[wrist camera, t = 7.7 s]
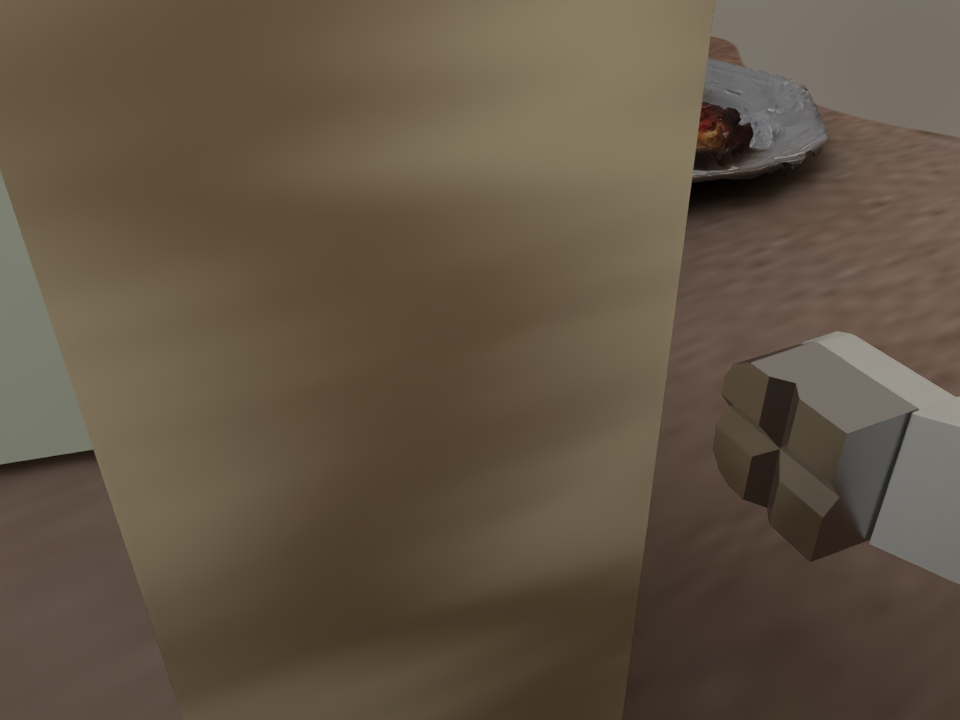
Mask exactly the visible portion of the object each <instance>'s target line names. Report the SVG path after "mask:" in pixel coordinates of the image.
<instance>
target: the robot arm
mask: <svg viewBox="0 0 960 720" xmlns="http://www.w3.org/2000/svg"><path fill="white" fill-rule="evenodd" d="M722 396H723V397H724V399H725V400H726V402H727V403H728V405H729V408H728V409H727V411H726V412H725V413H724V415H723V416H722V418H721V419H720V421H719V422H718V423H717V425H716V430H715V438H714V446H713V449H714V453H715V457H716V460H717V464H718V468H719V471H720V472H721V474H722V475H723V477H724V479H725V480H726V482H727V483H728V485H729V486H730V487H731V488H732V489H733V490H734V491H735V492H736V493H737V494H738V495H739V496H740V497H741V498H742V499H743V500H746V501H749V502H752V503H755V504H758V505H760V506H763V507H766V508H767V513H768V519H769V524H770V525H771V526H772V527H773V528H774V529H775V530H776V531H777V532H778V533H780V534H781V535H782V536H783V537H784V538H785V539H786V540H787V541H788V542H789V543H790V544H791V545H792V546H794V547H795V548H796V549H797V550H798V551H799V552H800V553H801V554H802V555H803V556H804V557H805V558H806V559H808V560H809V561H810V562H812V561H815V560H817V559H820V558H823V557H825V556H828V555H831V554H833V553H836V552H839V551H841V550H844V549H847V548H849V547H852V546H855V545H857V544H860V543H863V542H865V541H868V540H870V542H869V544H871V545H873V546H875V547H877V548H879V549H882V550H884V551H886V552H888V553H890V554H893V555H895V556H897V557H899V558H901V559H904V560H906V561H908V562H910V563H913V564H915V565H917V566H919V567H921V568H924V569H926V570H928V571H930V572H932V573H935V574H937V575H939V576H941V577H943V578H946V579H948V580H950V581H952V582H954V583H957V584H959V585H960V396H959V397H955V396H953V395H951V394H950V393H948V392H946V391H945V390H943V389H942V388H940V387H938V386H937V385H935V384H933V383H932V382H930V381H928V380H927V379H925V378H924V377H922V376H920V375H919V374H917V373H915V372H914V371H912V370H910V369H909V368H907V367H906V366H904V365H902V364H901V363H899V362H897V361H896V360H894V359H893V358H891V357H889V356H888V355H886V354H884V353H883V352H881V351H879V350H878V349H876V348H875V347H873V346H871V345H870V344H868V343H866V342H865V341H863V340H861V339H860V338H858V337H857V336H855V335H853V334H849V333H844V332H839V331H836V332H833V333H830V334H827V335H824V336H820V337H817V338H814V339H811V340H808V341H805V342H803V343H801V344H799V345H794V346H791V347H788V348H784V349H781V350H778V351H775V352H771V353H768V354H765V355H761V356H758V357H755V358H752V359H748V360H745V361H742V362H738V363H735V364H733V366H732V367H731V368H730V370H729V371H728V373H727V374H726V376H725V380H724V385H723V390H722Z"/></svg>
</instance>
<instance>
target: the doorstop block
mask: <svg viewBox="0 0 960 720" xmlns="http://www.w3.org/2000/svg"><path fill="white" fill-rule="evenodd" d="M714 5H715V0H0V171H1V174H2V177H3V180H4V183H5V186H6V189H7V192H8V195H9V198H10V201H11V204H12V207H13V210H14V213H15V216H16V219H17V222H18V225H19V228H20V231H21V234H22V237H23V240H24V243H25V246H26V249H27V252H28V255H29V258H30V261H31V264H32V267H33V270H34V273H35V276H36V279H37V282H38V285H39V288H40V291H41V294H42V297H43V300H44V303H45V306H46V309H47V312H48V315H49V318H50V321H51V324H52V327H53V330H54V333H55V336H56V339H57V342H58V345H59V348H60V351H61V354H62V357H63V360H64V363H65V366H66V369H67V372H68V375H69V378H70V381H71V384H72V387H73V390H74V393H75V396H76V399H77V402H78V405H79V408H80V411H81V414H82V417H83V420H84V423H85V426H86V429H87V432H88V435H89V438H90V441H91V444H92V447H93V450H94V453H95V456H96V459H97V462H98V465H99V468H100V471H101V474H102V477H103V480H104V483H105V486H106V489H107V492H108V495H109V498H110V501H111V504H112V507H113V510H114V513H115V516H116V519H117V522H118V525H119V528H120V531H121V534H122V537H123V540H124V543H125V546H126V549H127V552H128V555H129V558H130V561H131V564H132V567H133V570H134V573H135V576H136V579H137V582H138V585H139V588H140V591H141V594H142V597H143V600H144V603H145V606H146V609H147V612H148V615H149V618H150V621H151V624H152V627H153V630H154V633H155V636H156V639H157V642H158V645H159V648H160V651H161V654H162V657H163V660H164V663H165V666H166V669H167V671H168V674H169V677H170V680H171V683H172V686H173V689H174V692H175V695H176V698H177V701H178V704H179V707H180V710H181V713H182V716H183V719H184V720H622V717H623V709H624V702H625V694H626V686H627V678H628V671H629V663H630V655H631V647H632V640H633V632H634V624H635V617H636V609H637V601H638V593H639V586H640V578H641V570H642V562H643V555H644V547H645V539H646V531H647V524H648V516H649V508H650V500H651V493H652V485H653V477H654V469H655V462H656V454H657V446H658V439H659V431H660V423H661V415H662V408H663V400H664V392H665V384H666V377H667V369H668V361H669V353H670V346H671V338H672V330H673V322H674V315H675V307H676V299H677V291H678V284H679V276H680V268H681V261H682V253H683V245H684V237H685V230H686V222H687V214H688V206H689V199H690V191H691V183H692V175H693V168H694V160H695V152H696V144H697V137H698V129H699V121H700V113H701V106H702V98H703V90H704V83H705V75H706V67H707V59H708V52H709V44H710V36H711V28H712V21H713V13H714Z"/></svg>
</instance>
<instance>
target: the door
mask: <svg viewBox="0 0 960 720" xmlns="http://www.w3.org/2000/svg"><path fill="white" fill-rule="evenodd" d="M87 450H93V447H92V444H91V441H90V438H89V435H88V432H87V429H86V426H85V423H84V420H83V417H82V414H81V411H80V408H79V405H78V402H77V399H76V396H75V393H74V390H73V387H72V384H71V381H70V378H69V375H68V372H67V369H66V366H65V363H64V360H63V357H62V354H61V351H60V348H59V345H58V342H57V339H56V336H55V333H54V330H53V327H52V324H51V321H50V318H49V315H48V312H47V309H46V306H45V303H44V300H43V297H42V294H41V291H40V288H39V285H38V282H37V279H36V276H35V273H34V270H33V267H32V264H31V261H30V258H29V255H28V252H27V249H26V246H25V243H24V240H23V237H22V234H21V231H20V228H19V225H18V222H17V219H16V216H15V213H14V210H13V207H12V204H11V201H10V198H9V195H8V192H7V189H6V186H5V183H4V180H3V177H2V174H1V171H0V464H6V463H12V462H19V461H25V460H31V459H37V458H44V457H50V456H56V455H62V454H69V453H75V452H81V451H87Z"/></svg>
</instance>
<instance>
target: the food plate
mask: <svg viewBox="0 0 960 720" xmlns="http://www.w3.org/2000/svg"><path fill="white" fill-rule="evenodd" d="M806 91H808V90H806V87H805V86H803V85H800V84H798V83H796V82H793V81H791V79H786V78H784V77H781V76H778V75H773V74H769V73H767V72H764V71H755V70H752V69H748V68H746V67H744V68H743V67H740V66H738V65H736V66H735V65H732V64H730V63H726V62H724V61H718V60H715V59H712V58H708V59H707V67H706V75H705V83H704V90H703V98H702V106H701V113H700V121H699V129H698V137H697V144H696V152H695V160H694V168H693V175H692V183H696V182H702V181H705V180H707V181H709V180H712V181H713V180H718V179H731V180H733V179H739V180H740V179H747V178H748V180H749V179H750V180H751V179H752V178H755V177H758V176H760V175H761V174H763V173H764V172H769V173H772V174H773V171H774V172H775V171H776V170H777V171H778V169H781V168H782V169H784V171H786V168H789V167H790V168H791V167H792V169H793V168H794V167H795V166H796V167H797V166H798V165H799V164H801V163H802V161H803V159H805V156H806V155H805V154H806V152H808V151H812V153H813V156H814V155H816V154H817V155H818V154H819V153H820V152H821V150H822V148H823V146H825V143H826V140H827V139H828V135H827V132H826V129H825V127H826V126H825V125H824V124H823V121H822V120H823V119H822V118H821V115H820V113H819V112H817V107H816V104H814V101H813V99H812V97H811V95H809V92H808V93H806ZM812 101H813V102H812ZM813 104H814V105H813ZM761 140H763V141H761ZM783 162H786V163H787V165H786V167H784V165H783V164H782V163H783ZM784 173H785V172H784ZM785 175H786V173H785V174H784V177H785Z"/></svg>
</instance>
